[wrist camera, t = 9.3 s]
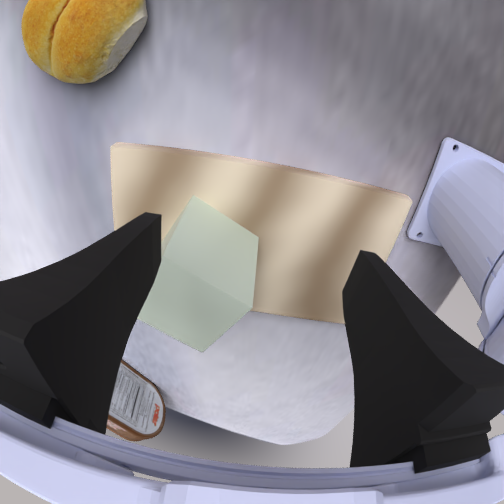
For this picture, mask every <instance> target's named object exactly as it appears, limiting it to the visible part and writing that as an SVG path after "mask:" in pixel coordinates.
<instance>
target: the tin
mask: <svg viewBox="0 0 504 504" xmlns="http://www.w3.org/2000/svg"><path fill="white" fill-rule="evenodd" d="M165 412H166V410H165V404H164V401H163V398H162V396H161V394H160V392H159V390H158V389H157V388H156V386H155V385H154V384H153V383H152V382H151V381H149V380H148V379H147V378H145V377H144V376H143V375H141V374H140V373H139V372H137V371H136V370H135V369H133V368H132V367H131V366H129V365H128V364H127V363H126V362H124V361H123V360H121V364H120V367H119V371H118V375H117V379H116V382H115V386H114V391H113V395H112V400H111V405H110V409H109V415H108V421H107V427H106V428H107V429H109V430H111V431H112V432H114V433H116V434H117V435H119V436H121V437H123V438H124V439H127V440H130V441H141V440H143V439H149V438H153V437H155V436H157V435H158V434H159V433H160V432H161V430H162V428H163V426H164V422H165Z"/></svg>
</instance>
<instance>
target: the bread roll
mask: <svg viewBox="0 0 504 504" xmlns="http://www.w3.org/2000/svg"><path fill="white" fill-rule="evenodd" d="M147 18H148V15H147V10H146V0H29V1H28V3H27V5H26V7H25V10H24V13H23V18H22V36H23V41H24V45H25V48H26V51H27V53H28V55H29V57H30V58H31V60H32V61H33V62H34V63H35V64H36V65H37V66H38V67H39V68H40V69H41V70H43V71H45V72H46V73H48V74H49V75H52V76H54V77H55V78H57V79H58V80H60V81H62V82H67V83H77V84H85V83H91V82H95V81H97V80H98V79H100V78H102V77H103V76H105V75H107V74H108V73H110V72H112V71H113V70H114V69H115V68H116V67H117V66H118V65H119V63H120V62H121V61H122V59H123V58H124V57H125V56H126V54H127V53H128V52H129V51H130V49H131V48H132V46H133V45H134V43H135V42H136V40H137V39H138V37H139V35H140V33H141V32H142V31H143V28H144V27H145V25H146V22H147Z"/></svg>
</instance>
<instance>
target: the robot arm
mask: <svg viewBox="0 0 504 504" xmlns="http://www.w3.org/2000/svg"><path fill="white" fill-rule="evenodd" d="M455 144H456V148H455V149H454V150H453V146H454V145H455ZM161 220H162V215H161V214H155V213H148V212H145V213H143V214H141V215H139V216H138V217H136V218H134V219H133V220H131V221H130V222H128V223H126V224H125V225H123V226H122V227H120V228H118V229H117V230H115V231H114V232H112V233H110V234H109V235H107V236H106V237H104V238H102V239H100V240H99V241H97V242H95V243H93V244H92V245H90V246H88V247H87V248H85V249H83V250H81V251H79V252H77V253H75V254H73V255H71V256H69V257H67V258H65V259H63V260H61V261H58V262H56V263H54V264H51V265H49V266H46V267H44V268H41V269H39V270H36V271H33V272H31V273H28V274H25V275H22V276H18V277H15V278H12V279H8V280H4V281H0V474H1V475H2V476H4V477H5V478H7V479H9V480H10V481H12V482H14V483H15V484H17V485H19V486H20V487H22V488H24V489H26V490H27V491H29V492H31V493H33V494H35V495H37V496H39V497H40V498H42V499H44V500H46V501H48V502H50V503H52V504H496V503H498V502H500V501H502V500H504V434H501V435H498V436H495V437H493V438H491V439H489V440H488V437H487V434H486V433H488V432H489V431H491V426H490V422H489V421H490V420H491V419H493V418H494V417H495V416H497V415H498V414H499V413H501V414H503V415H504V164H503V163H502V162H500V161H498V160H496V159H494V158H492V157H490V156H488V155H486V154H484V153H482V152H480V151H478V150H476V149H474V148H472V147H470V146H468V145H465V144H463V143H461V142H459V141H457V140H454V139H452V138H450V137H447V138H445V139H444V140H443V141H442V144H441V147H440V150H439V153H438V156H437V158H436V161H435V164H434V167H433V169H432V172H431V175H430V177H429V180H428V182H427V185H426V187H425V190H424V192H423V195H422V197H421V200H420V202H419V205H418V207H417V209H416V212H415V214H414V216H413V219H412V221H411V223H410V225H409V228H408V230H407V235H408V237H409V238H410V239H413V240H417V241H421V242H425V243H430V244H434V245H438V246H442V247H443V248H444V249H445V251H446V252H447V254H448V255H449V257H450V258H451V260H452V261H453V263H454V265H455V266H456V268H457V269H458V271H459V273H460V274H461V276H462V277H463V279H464V281H465V282H466V284H467V286H468V287H469V289H470V291H471V293H472V294H473V296H474V298H475V300H476V301H477V303H478V305H479V307H480V309H481V310H482V314H481V317H480V319H479V321H478V323H477V325H478V327H479V329H480V331H481V333H482V335H483V337H484V340H483V341H482V342H481V344H480V345H479V348H478V349H477V348H476V347H474V346H473V345H471V344H470V343H468V342H467V341H466V340H464V339H463V338H462V337H461V336H459V335H458V334H457V333H456V332H454V331H453V330H452V329H451V328H449V327H448V326H447V325H446V324H445V323H444V322H443V321H441V320H440V319H439V318H438V317H437V316H436V315H435V314H434V313H433V312H432V311H431V310H429V309H428V308H427V307H426V306H425V304H424V303H423V302H422V301H421V300H420V299H419V298H418V297H417V296H416V295H415V294H414V293H413V292H412V291H411V290H410V289H409V288H408V287H407V286H406V285H405V283H404V282H403V281H402V280H401V279H400V278H399V277H398V276H397V275H396V274H395V272H394V271H393V270H392V269H391V268H390V267H389V266H388V265H387V264H386V263H385V262H384V261H383V260H382V259H381V258H380V257H379V256H378V255H377V254H376V253H374V252H369V251H364V250H360V252H359V254H358V256H357V259H356V261H355V263H354V266H353V268H352V270H351V272H350V275H349V277H348V279H347V281H346V284H345V286H344V288H343V290H342V301H343V315H344V321H345V326H346V332H347V337H348V342H349V348H350V353H351V359H352V365H353V373H354V395H355V405H354V411H355V412H354V432H353V445H352V453H351V461H350V468H284V467H267V466H255V465H245V464H236V463H228V462H221V461H214V460H207V459H201V458H196V457H190V456H185V455H180V454H175V453H170V452H166V451H162V450H158V449H153V448H149V447H145V446H142V445H138V444H134V443H131V442H127V441H124V440H120V439H117V438H114V437H111V436H108V435H105V433H106V427H107V421H108V415H109V409H110V405H111V400H112V395H113V391H114V386H115V382H116V379H117V375H118V371H119V367H120V364H121V360H122V357H123V354H124V350H125V347H126V344H127V341H128V338H129V336H130V333H131V331H132V328H133V326H134V324H135V322H136V320H137V318H138V316H139V313H140V311H141V309H142V307H143V305H144V303H145V301H146V299H147V297H148V295H149V292H150V290H151V288H152V286H153V284H154V281H155V279H156V276H157V273H158V270H159V267H160V264H161ZM419 232H421V234H420V235H417V234H418V233H419ZM130 470H131V471H130ZM132 471H135V472H139V473H142V474H146V475H150V476H154V477H158V478H162V479H167V480H171V482H170V483H167V482H161V481H155V480H150V479H145V478H140V477H135V476H134V474H133V472H132Z"/></svg>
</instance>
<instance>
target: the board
mask: <svg viewBox="0 0 504 504" xmlns="http://www.w3.org/2000/svg"><path fill="white" fill-rule="evenodd" d="M111 185H112V204H113V218H114V230H117V229H118V228H120V227H122V226H123V225H125V224H126V223H128V222H130V221H131V220H133V219H134V218H136V217H138V216H139V215H141V214H143V213H145V212H148V213H155V214H161V215H162V220H161V242H162V241H163V239H164V238H165V236H166V235H167V233H168V232H169V230H170V229H171V227H172V226H173V224H174V223H175V221H176V219H177V218H178V216H179V215H180V214H181V212H182V211H183V209H184V208H185V206H186V205H187V203H188V202H189V200H190V199H191V197H192V196H193V195H194V196H196V197H198V198H199V199H201V200H202V201H204V202H205V203H207V204H208V205H210V206H212V207H213V208H215V209H216V210H218V211H219V212H221V213H222V214H224V215H225V216H227V217H228V218H230V219H232V220H233V221H235V222H236V223H238V224H239V225H241V226H242V227H244V228H245V229H247V230H248V231H250V232H251V233H253V234H255V235H256V236H258V237H259V241H258V252H257V264H256V275H255V286H254V297H253V308H252V309H251V310H250V311H256V312H263V313H269V314H276V315H282V316H289V317H296V318H303V319H310V320H318V321H326V322H333V323H342V324H345V321H344V315H343V301H342V290H343V288H344V286H345V284H346V281H347V279H348V277H349V275H350V272H351V270H352V268H353V266H354V263H355V261H356V259H357V256H358V254H359V252H360V250H364V251H369V252H374V253H376V254H377V255H378V256H379V257H380V258H381V259H382V260H383V261H384V262H385V263H386V261H387V258H388V256H389V254H390V252H391V250H392V248H393V246H394V243H395V241H396V239H397V237H398V235H399V232H400V230H401V228H402V226H403V223H404V221H405V219H406V216H407V214H408V212H409V209H410V207H411V204H412V200H411V199H410V198H409V197H408V195H405V194H401V193H398V192H394V191H391V190H387V189H383V188H380V187H376V186H372V185H368V184H364V183H360V182H356V181H352V180H348V179H344V178H340V177H336V176H331V175H327V174H323V173H318V172H314V171H309V170H304V169H300V168H295V167H290V166H285V165H280V164H274V163H269V162H264V161H258V160H253V159H247V158H241V157H235V156H229V155H222V154H216V153H209V152H202V151H195V150H187V149H179V148H171V147H162V146H153V145H143V144H133V143H121V142H117V143H115V144H114V145H112V146H111Z"/></svg>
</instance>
